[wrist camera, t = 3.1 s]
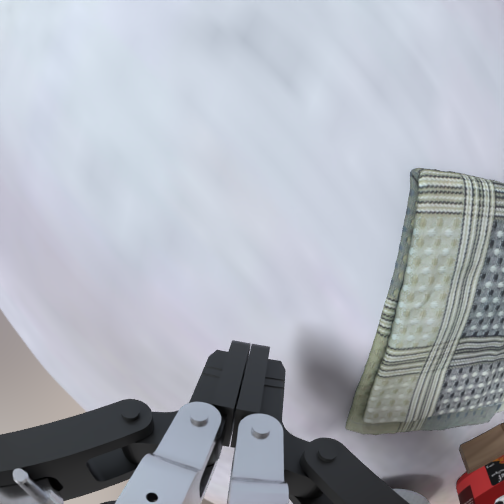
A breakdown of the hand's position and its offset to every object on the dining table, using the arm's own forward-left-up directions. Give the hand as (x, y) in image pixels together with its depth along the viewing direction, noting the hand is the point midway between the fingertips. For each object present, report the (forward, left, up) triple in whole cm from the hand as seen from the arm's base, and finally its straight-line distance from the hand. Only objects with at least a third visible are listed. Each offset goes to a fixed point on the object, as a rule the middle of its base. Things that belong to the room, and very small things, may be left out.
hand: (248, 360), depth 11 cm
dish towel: (0, +16, -5) cm, 16 cm away
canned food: (+22, +33, -5) cm, 40 cm away
